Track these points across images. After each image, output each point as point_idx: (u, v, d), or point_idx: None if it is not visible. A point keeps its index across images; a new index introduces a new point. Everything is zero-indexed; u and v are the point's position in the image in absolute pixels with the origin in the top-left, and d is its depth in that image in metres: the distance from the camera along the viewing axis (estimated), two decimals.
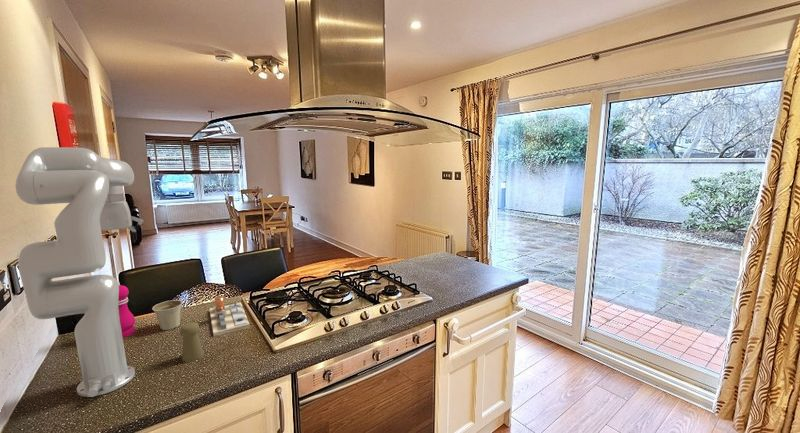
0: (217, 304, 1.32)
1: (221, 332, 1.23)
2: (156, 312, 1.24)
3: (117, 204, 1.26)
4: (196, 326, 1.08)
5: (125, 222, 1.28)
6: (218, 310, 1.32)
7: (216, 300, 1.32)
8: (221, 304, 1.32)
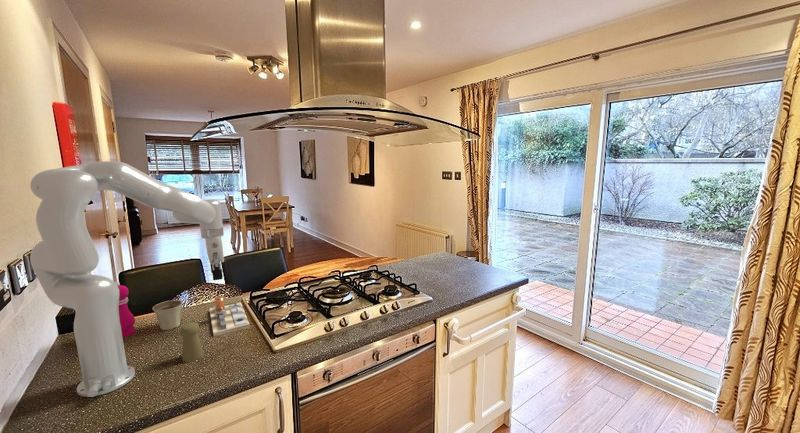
0: (217, 304, 1.32)
1: (221, 332, 1.23)
2: (156, 312, 1.24)
3: None
4: (196, 326, 1.08)
5: None
6: (218, 310, 1.32)
7: (216, 300, 1.32)
8: (221, 304, 1.32)
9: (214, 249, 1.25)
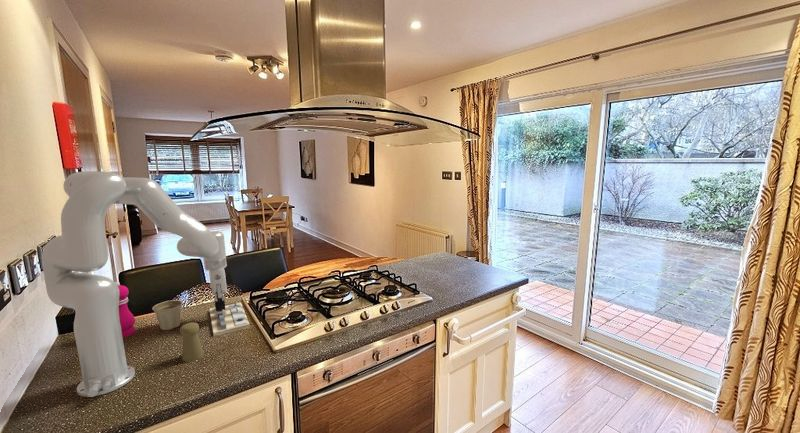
0: None
1: (221, 332, 1.23)
2: (156, 312, 1.24)
3: None
4: (196, 326, 1.08)
5: None
6: None
7: None
8: None
9: (217, 281, 1.27)
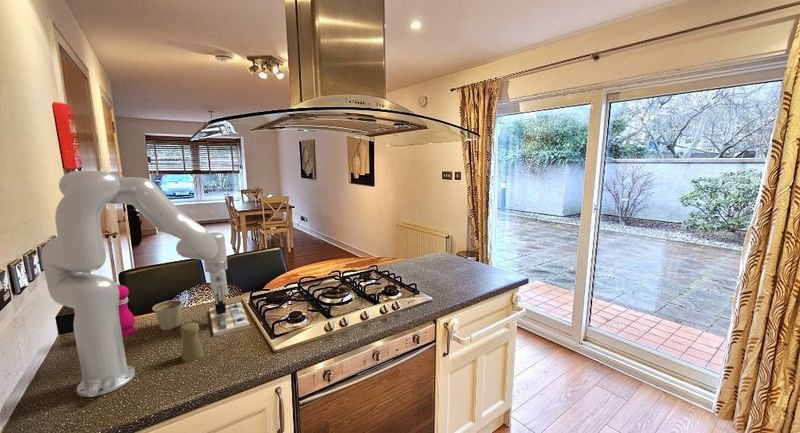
0: None
1: (221, 332, 1.23)
2: (156, 312, 1.24)
3: None
4: (196, 326, 1.08)
5: None
6: None
7: None
8: None
9: (218, 283, 1.25)
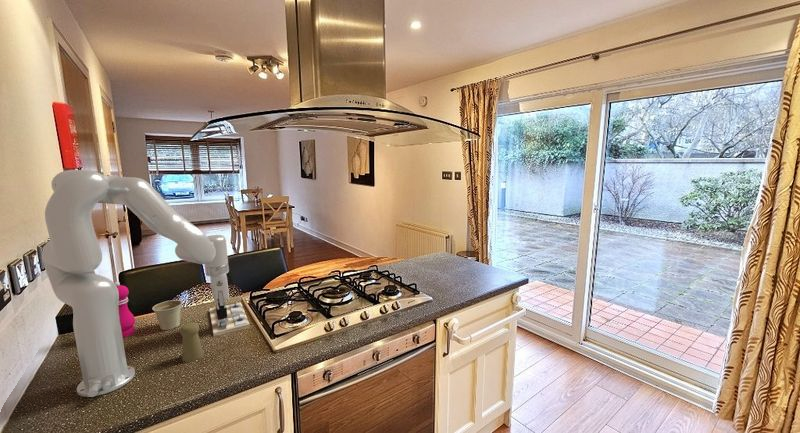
0: None
1: (221, 332, 1.23)
2: (156, 312, 1.24)
3: None
4: (196, 326, 1.08)
5: None
6: None
7: None
8: None
9: (219, 287, 1.21)
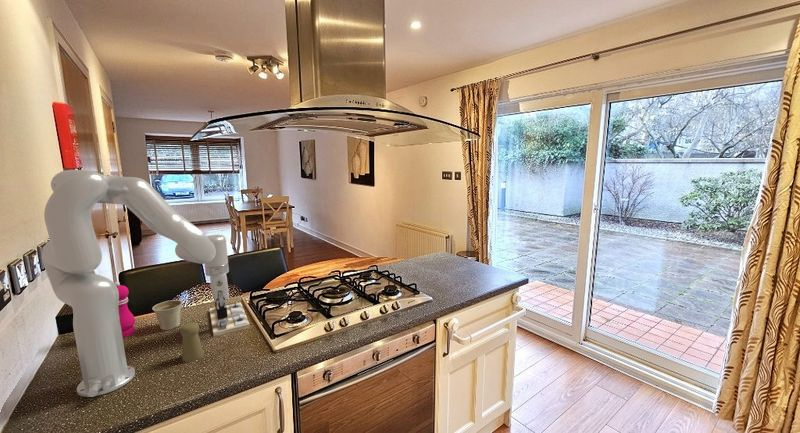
0: None
1: (221, 332, 1.23)
2: (156, 312, 1.24)
3: None
4: (196, 326, 1.08)
5: None
6: None
7: None
8: None
9: (219, 287, 1.21)
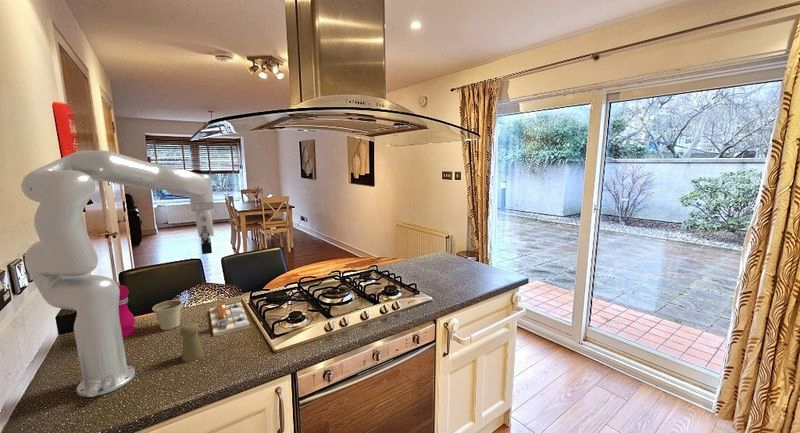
0: (219, 312, 1.25)
1: (221, 332, 1.23)
2: (156, 312, 1.24)
3: None
4: (196, 326, 1.08)
5: None
6: (220, 318, 1.26)
7: (218, 308, 1.25)
8: (223, 312, 1.26)
9: (203, 222, 1.26)
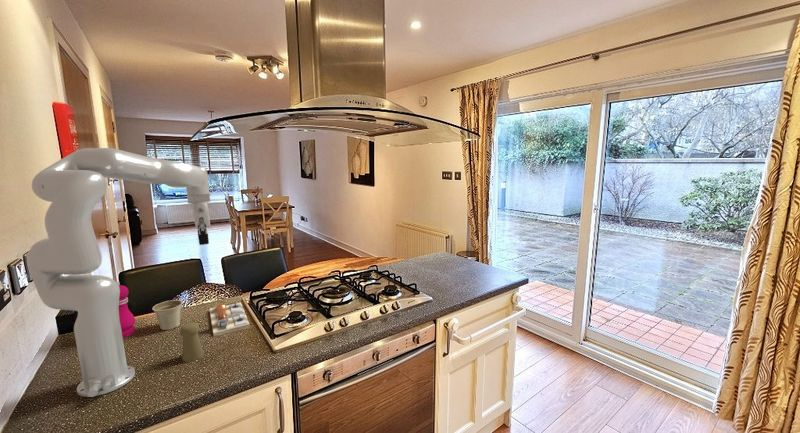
0: (219, 312, 1.25)
1: (221, 332, 1.23)
2: (156, 312, 1.24)
3: None
4: (196, 326, 1.08)
5: None
6: (220, 318, 1.26)
7: (218, 308, 1.25)
8: (223, 312, 1.26)
9: (200, 214, 1.29)
